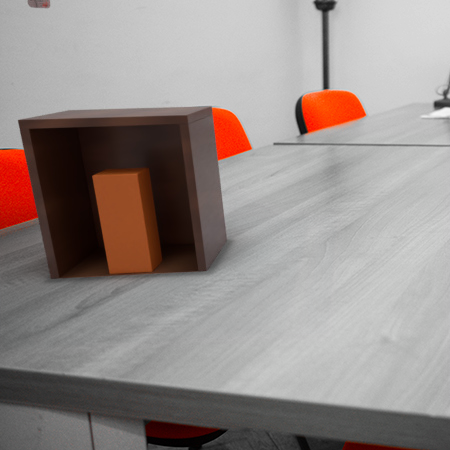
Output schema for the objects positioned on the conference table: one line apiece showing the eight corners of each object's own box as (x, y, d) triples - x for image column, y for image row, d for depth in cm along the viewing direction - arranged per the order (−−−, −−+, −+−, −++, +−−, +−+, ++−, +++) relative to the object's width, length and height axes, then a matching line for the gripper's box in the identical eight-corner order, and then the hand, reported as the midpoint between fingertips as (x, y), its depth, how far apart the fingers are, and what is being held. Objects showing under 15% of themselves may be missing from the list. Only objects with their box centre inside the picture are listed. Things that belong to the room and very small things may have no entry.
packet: (109, 274, 68) (91, 175, 65) (122, 262, 72) (106, 168, 69) (152, 272, 69) (137, 173, 65) (162, 260, 72) (148, 167, 69)
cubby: (53, 290, 68) (17, 119, 62) (95, 256, 79) (69, 110, 73) (208, 282, 69) (187, 114, 63) (228, 250, 80) (211, 106, 75)
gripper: (28, -118, 68) (44, 6, 73) (-132, -171, 49) (-96, 3, 54) (80, -114, 68) (92, 10, 73) (-60, -165, 49) (-31, 8, 53)
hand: (11, 7), depth 63 cm, fingers open, 8 cm apart
